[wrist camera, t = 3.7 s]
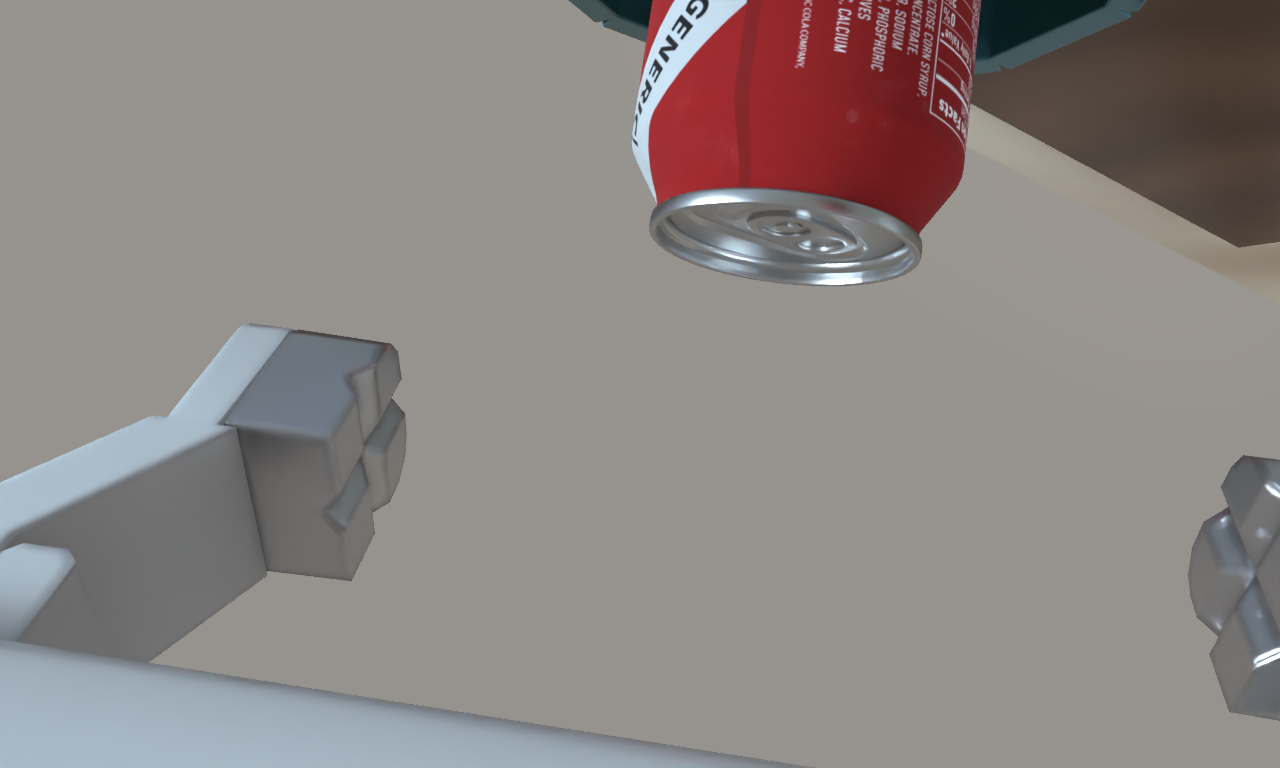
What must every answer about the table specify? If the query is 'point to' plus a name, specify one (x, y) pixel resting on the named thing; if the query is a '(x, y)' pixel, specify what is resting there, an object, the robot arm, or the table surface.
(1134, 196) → the table surface
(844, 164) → the soda can
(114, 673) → the robot arm
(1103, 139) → the serving board
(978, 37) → the bowl
